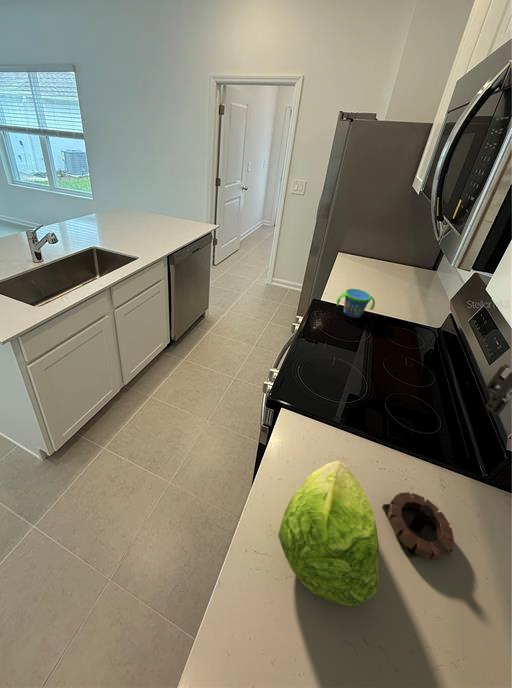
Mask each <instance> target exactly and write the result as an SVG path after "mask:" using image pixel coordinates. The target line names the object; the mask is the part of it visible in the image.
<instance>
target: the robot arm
mask: <svg viewBox="0 0 512 688" xmlns="http://www.w3.org/2000/svg"><path fill="white" fill-rule="evenodd" d="M484 390H486V391H487V392H488V393H489V394H490V395H491V397H490V398H489V399H488V401H487V403H486V404H485V408H486V409H487V410H488V412H490V413H491V414H492V415H494V416H497V415H500V414H501V413H502V412H503V410H504V409H505V408H506V406H507V405H508V404H509V401H511V400H512V367H510V366H509V365H507V364H502V365H501V366H500V367H499V369H498V370H497V371H496V372H495V373H494V375H493V376H492V378H491V379H490V381H489V382H488V383H487V385H486V386H485V388H484ZM510 390H511V391H510Z"/></svg>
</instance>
